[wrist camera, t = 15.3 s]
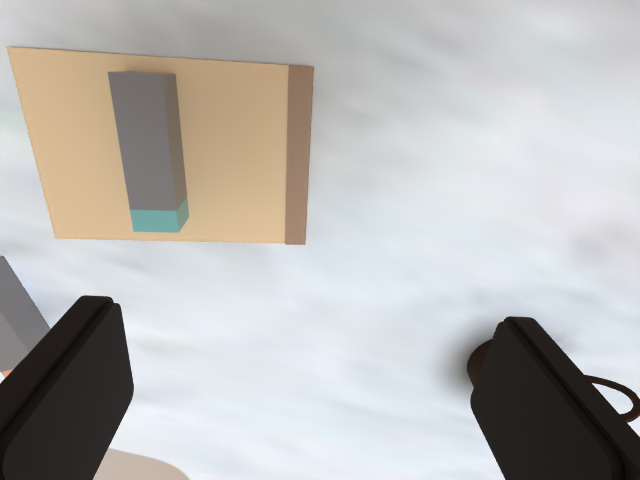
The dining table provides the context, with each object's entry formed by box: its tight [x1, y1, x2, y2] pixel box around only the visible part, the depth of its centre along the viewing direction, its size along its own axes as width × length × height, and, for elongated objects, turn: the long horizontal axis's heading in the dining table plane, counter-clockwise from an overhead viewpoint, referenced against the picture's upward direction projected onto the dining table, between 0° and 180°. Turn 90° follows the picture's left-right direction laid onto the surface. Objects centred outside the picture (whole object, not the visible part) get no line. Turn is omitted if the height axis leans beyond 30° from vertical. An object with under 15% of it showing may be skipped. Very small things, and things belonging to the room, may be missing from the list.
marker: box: [107, 71, 189, 233], centre depth 25 cm, size 10×3×3 cm, turn 177°
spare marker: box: [0, 256, 50, 378], centre depth 30 cm, size 10×3×3 cm, turn 12°
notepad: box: [7, 47, 314, 245], centre depth 27 cm, size 13×19×1 cm
